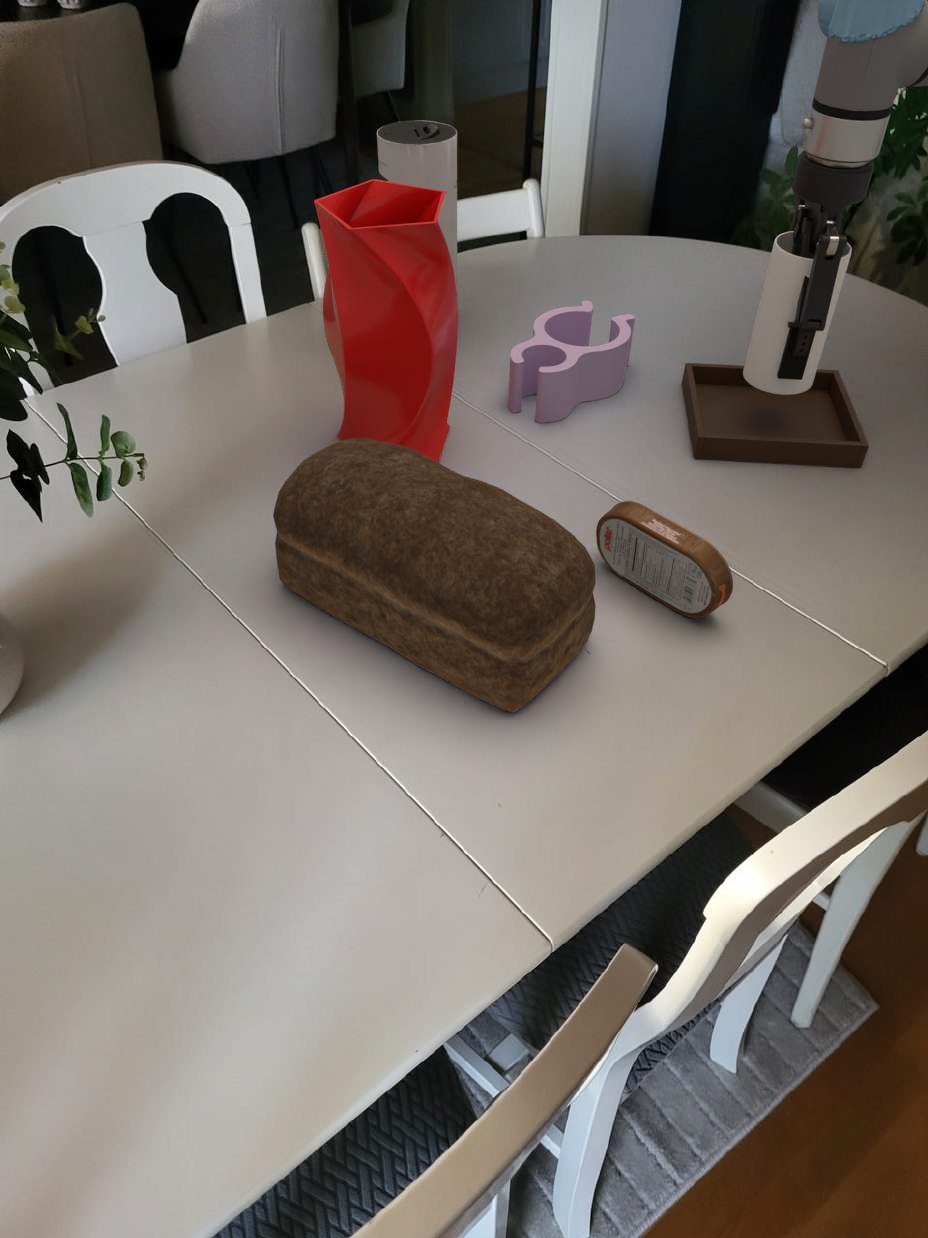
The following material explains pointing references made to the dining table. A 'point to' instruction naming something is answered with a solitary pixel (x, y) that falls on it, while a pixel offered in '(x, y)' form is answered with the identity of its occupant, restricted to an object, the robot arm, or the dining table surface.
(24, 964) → the dining table surface
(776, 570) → the dining table surface
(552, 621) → the bread
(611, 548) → the tin
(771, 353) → the cup
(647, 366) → the dining table surface
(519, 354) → the clip
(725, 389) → the tray
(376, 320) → the vase
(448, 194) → the speaker
